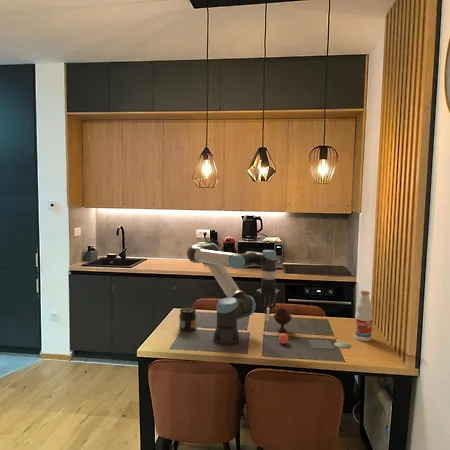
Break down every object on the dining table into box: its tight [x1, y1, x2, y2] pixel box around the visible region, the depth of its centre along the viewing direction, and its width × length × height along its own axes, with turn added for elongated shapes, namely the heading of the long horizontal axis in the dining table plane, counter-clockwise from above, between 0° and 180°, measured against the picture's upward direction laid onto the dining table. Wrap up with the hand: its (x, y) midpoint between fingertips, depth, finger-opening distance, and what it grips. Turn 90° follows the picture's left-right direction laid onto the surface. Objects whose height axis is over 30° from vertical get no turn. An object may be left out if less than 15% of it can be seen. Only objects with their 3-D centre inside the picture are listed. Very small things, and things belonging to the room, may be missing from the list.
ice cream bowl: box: [273, 306, 293, 333], centre depth 231 cm, size 11×11×15 cm
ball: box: [278, 333, 289, 345], centre depth 211 cm, size 6×6×6 cm
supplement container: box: [178, 307, 197, 332], centre depth 231 cm, size 10×10×12 cm
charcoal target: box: [307, 339, 336, 350], centre depth 211 cm, size 12×12×1 cm
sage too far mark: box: [333, 341, 352, 349], centre depth 211 cm, size 9×9×1 cm
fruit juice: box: [353, 290, 374, 342], centre depth 221 cm, size 9×9×28 cm
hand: (267, 319), depth 211 cm, fingers closed
